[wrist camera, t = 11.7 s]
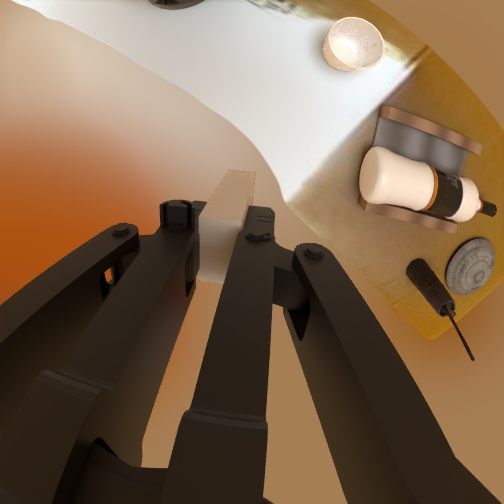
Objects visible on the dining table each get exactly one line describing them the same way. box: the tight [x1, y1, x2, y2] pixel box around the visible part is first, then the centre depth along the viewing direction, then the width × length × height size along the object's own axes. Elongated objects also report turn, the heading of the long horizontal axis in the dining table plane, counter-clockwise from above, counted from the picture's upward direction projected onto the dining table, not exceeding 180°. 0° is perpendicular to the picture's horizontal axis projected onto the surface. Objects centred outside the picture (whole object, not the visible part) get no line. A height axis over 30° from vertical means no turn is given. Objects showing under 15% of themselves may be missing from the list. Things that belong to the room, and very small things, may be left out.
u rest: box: [358, 106, 482, 234], centre depth 44 cm, size 20×18×5 cm
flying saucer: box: [446, 239, 495, 295], centre depth 52 cm, size 15×15×6 cm
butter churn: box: [407, 259, 475, 361], centre depth 44 cm, size 9×10×28 cm
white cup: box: [322, 17, 385, 71], centre depth 34 cm, size 8×8×10 cm
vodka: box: [359, 146, 497, 222], centre depth 43 cm, size 9×9×30 cm
